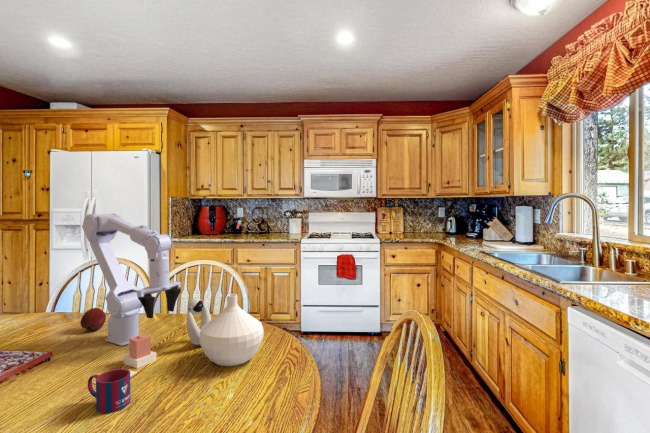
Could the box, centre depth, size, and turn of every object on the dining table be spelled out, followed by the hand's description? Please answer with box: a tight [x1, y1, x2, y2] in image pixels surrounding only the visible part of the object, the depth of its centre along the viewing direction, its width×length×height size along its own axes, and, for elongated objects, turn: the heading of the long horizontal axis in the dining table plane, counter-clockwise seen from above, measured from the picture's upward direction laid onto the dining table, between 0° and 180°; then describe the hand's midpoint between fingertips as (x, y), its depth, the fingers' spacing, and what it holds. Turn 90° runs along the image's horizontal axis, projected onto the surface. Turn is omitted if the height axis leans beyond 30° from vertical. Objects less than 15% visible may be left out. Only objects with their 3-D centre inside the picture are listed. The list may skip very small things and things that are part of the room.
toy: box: [186, 297, 212, 347], centre depth 113 cm, size 11×7×15 cm, turn 168°
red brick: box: [128, 333, 152, 359], centre depth 100 cm, size 4×4×5 cm
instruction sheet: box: [93, 370, 138, 385], centre depth 91 cm, size 6×8×1 cm
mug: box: [87, 368, 131, 414], centre depth 80 cm, size 7×10×7 cm
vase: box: [200, 293, 265, 367], centre depth 103 cm, size 18×18×19 cm
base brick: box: [123, 350, 157, 369], centre depth 101 cm, size 6×6×2 cm
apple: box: [80, 307, 107, 332], centre depth 125 cm, size 7×8×8 cm
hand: (160, 314), depth 111 cm, fingers open, 7 cm apart
